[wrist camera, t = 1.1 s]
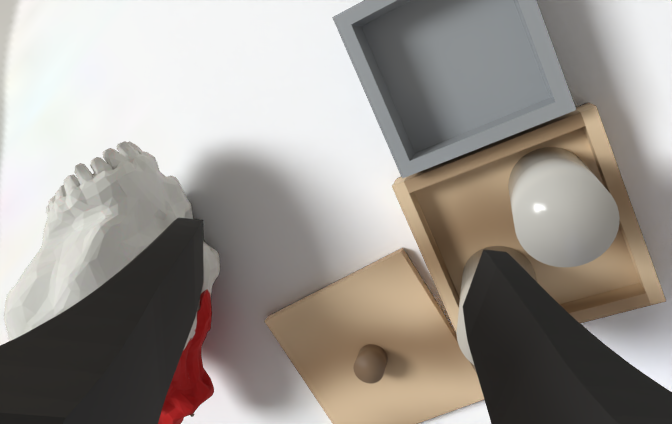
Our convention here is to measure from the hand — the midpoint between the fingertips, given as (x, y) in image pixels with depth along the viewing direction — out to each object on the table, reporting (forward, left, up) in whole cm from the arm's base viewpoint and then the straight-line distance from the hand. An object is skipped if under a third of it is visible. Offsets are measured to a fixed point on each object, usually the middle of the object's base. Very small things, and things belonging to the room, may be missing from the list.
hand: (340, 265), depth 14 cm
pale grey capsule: (-3, -6, -12) cm, 14 cm away
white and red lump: (-1, +16, -13) cm, 21 cm away
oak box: (-5, -4, -13) cm, 14 cm away
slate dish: (+4, -4, -13) cm, 14 cm away
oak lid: (-9, +6, -13) cm, 17 cm away
